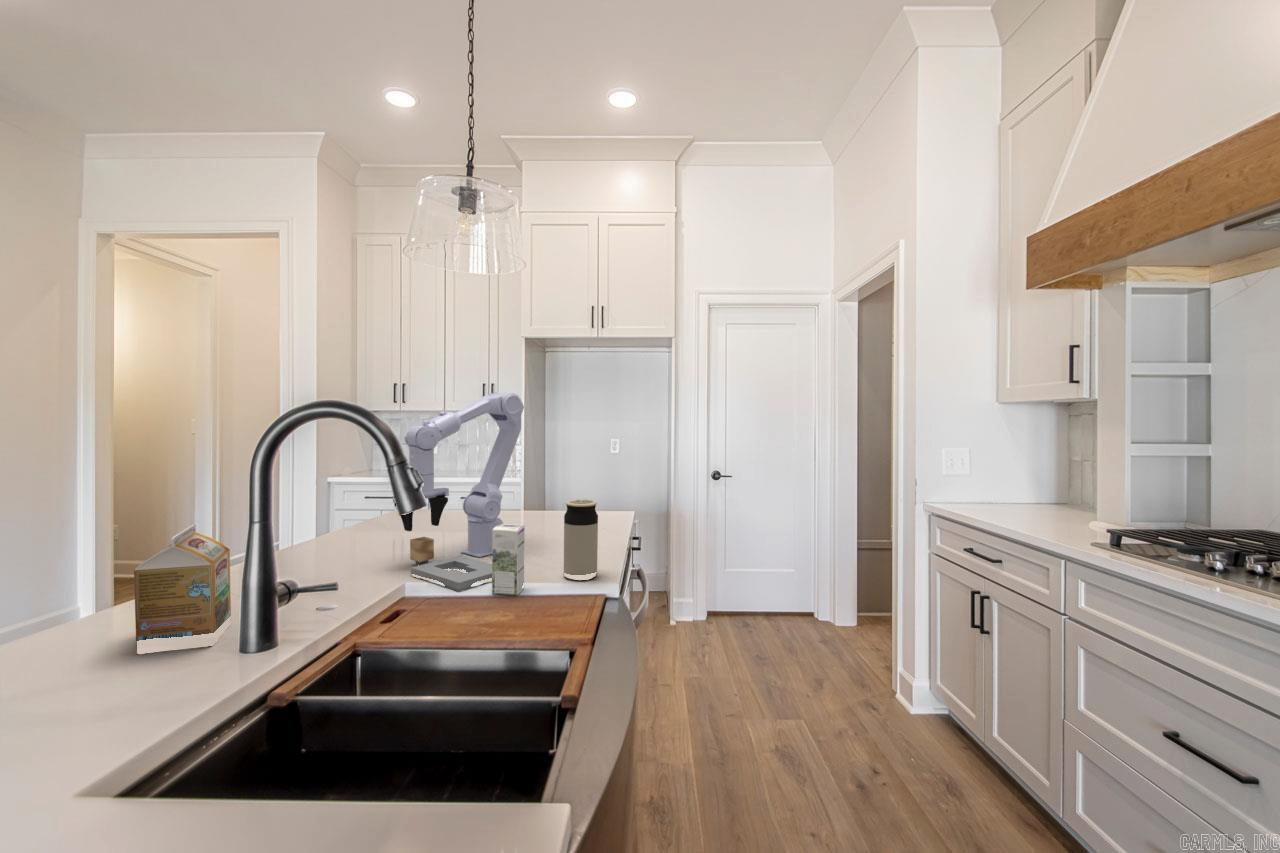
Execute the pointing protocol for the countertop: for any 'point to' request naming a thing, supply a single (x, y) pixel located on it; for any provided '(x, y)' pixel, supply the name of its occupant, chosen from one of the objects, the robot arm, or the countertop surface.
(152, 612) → the milk carton
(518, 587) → the syrup box
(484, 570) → the keyhole board
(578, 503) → the travel mug
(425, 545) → the keyhole peg
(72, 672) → the countertop surface
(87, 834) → the countertop surface
